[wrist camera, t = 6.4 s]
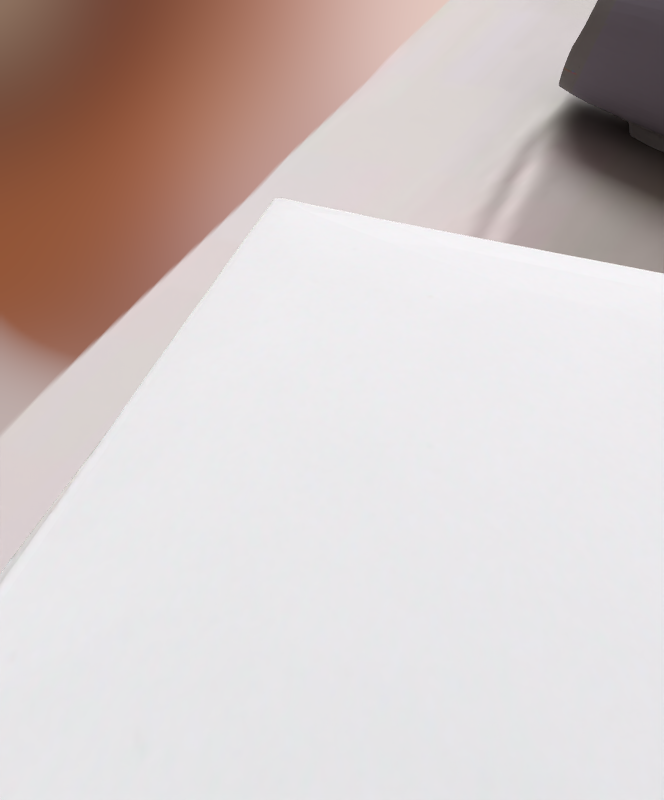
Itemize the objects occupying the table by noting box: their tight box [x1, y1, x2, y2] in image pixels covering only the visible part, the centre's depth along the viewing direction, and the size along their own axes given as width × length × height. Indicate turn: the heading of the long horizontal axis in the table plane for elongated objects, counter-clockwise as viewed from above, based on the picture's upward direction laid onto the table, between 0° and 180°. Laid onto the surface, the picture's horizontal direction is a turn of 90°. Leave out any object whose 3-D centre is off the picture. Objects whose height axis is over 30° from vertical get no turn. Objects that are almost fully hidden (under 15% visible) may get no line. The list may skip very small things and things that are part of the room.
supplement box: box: [0, 198, 664, 800], centre depth 8 cm, size 7×7×13 cm
